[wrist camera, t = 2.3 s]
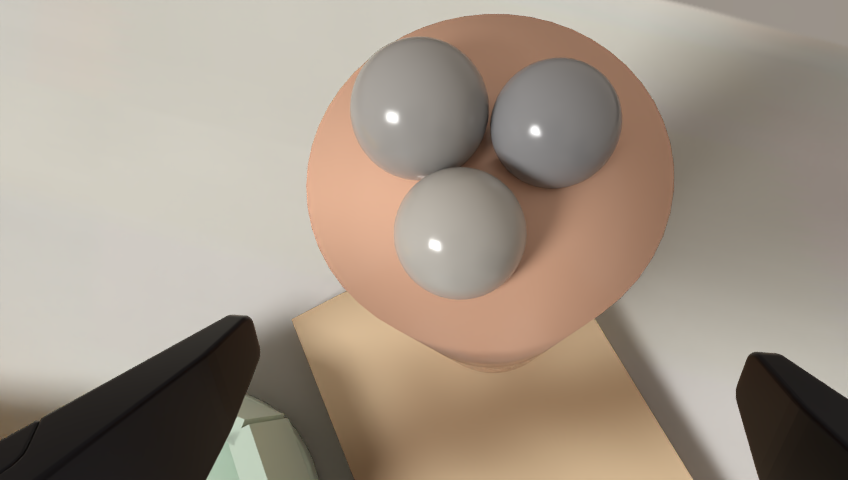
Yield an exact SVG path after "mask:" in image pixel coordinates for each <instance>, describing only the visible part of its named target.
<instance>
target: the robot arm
mask: <svg viewBox="0 0 848 480" xmlns="http://www.w3.org/2000/svg"><path fill="white" fill-rule="evenodd" d="M259 357H260V346H259V342H258V339H257V335H256V331H255V327H254V324H253V321H252V319H251V318H250V317H248V316H243V315H228V316H226V317H224V318H222V319H221V320H219V321H217V322H215V323H213V324H212V325H210V326H208V327H206V328H204V329H202V330H201V331H199V332H197V333H195V334H193V335H192V336H190V337H188V338H186V339H184V340H182V341H181V342H179V343H177V344H175V345H173V346H172V347H170V348H168V349H166V350H164V351H162V352H161V353H159V354H157V355H155V356H153V357H152V358H150V359H148V360H146V361H144V362H143V363H141V364H139V365H137V366H135V367H133V368H132V369H130V370H128V371H126V372H124V373H123V374H121V375H119V376H117V377H115V378H113V379H112V380H110V381H108V382H106V383H104V384H103V385H101V386H99V387H97V388H95V389H93V390H92V391H90V392H88V393H86V394H84V395H83V396H81V397H79V398H77V399H75V400H73V401H72V402H70V403H68V404H66V405H64V406H63V407H61V408H59V409H57V410H55V411H54V412H52V413H50V414H48V415H46V416H44V417H43V418H42V419H41V420H40V421H35V422H33V423H32V424H30V425H28V426H26V427H24V428H23V429H21V430H19V431H17V432H15V433H14V434H12V435H10V436H8V437H6V438H4V439H2V440H0V480H206V479H207V477H208V475H209V473H210V471H211V470H212V468H213V466H214V464H215V462H216V460H217V458H218V456H219V454H220V452H221V450H222V448H223V446H224V444H225V442H226V440H227V438H228V436H229V434H230V432H231V430H232V427H233V425H234V423H235V420H236V418H237V415H238V413H239V410H240V408H241V405H242V402H243V400H244V397H245V395H246V392H247V389H248V387H249V384H250V382H251V379H252V376H253V374H254V371H255V369H256V366H257V363H258V361H259ZM736 400H737V404H738V408H739V411H740V415H741V418H742V422H743V425H744V429H745V432H746V436H747V439H748V443H749V446H750V450H751V453H752V457H753V460H754V464H755V467H756V471H757V474H758V477H759V480H848V399H847V398H845V397H844V396H842V395H841V394H839V393H838V392H836V391H835V390H833V389H832V388H830V387H829V386H827V385H826V384H824V383H823V382H821V381H820V380H818V379H817V378H815V377H814V376H812V375H811V374H809V373H808V372H806V371H805V370H803V369H802V368H800V367H799V366H797V365H796V364H794V363H793V362H791V361H790V360H788V359H787V358H785V357H784V356H782V355H780V354H777V353H765V352H753V353H751V354H750V355H749V356H748V358H747V360H746V362H745V365H744V368H743V370H742V373H741V376H740V379H739V381H738V384H737V387H736Z"/></svg>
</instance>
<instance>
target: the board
mask: <svg viewBox="0 0 848 480" xmlns="http://www.w3.org/2000/svg"><path fill="white" fill-rule="evenodd" d="M291 320H292V322H293V325H294V327H295V330H296V332H297V335H298V337H299V340H300V343H301V345H302V348H303V350H304V353H305V355H306V358H307V360H308V363H309V366H310V368H311V371H312V373H313V376H314V378H315V381H316V383H317V386H318V388H319V391H320V394H321V396H322V399H323V401H324V404H325V406H326V409H327V411H328V414H329V417H330V419H331V422H332V424H333V427H334V429H335V432H336V434H337V437H338V440H339V442H340V445H341V447H342V450H343V452H344V455H345V457H346V460H347V463H348V465H349V468H350V470H351V473H352V475H353V478H354V480H693V479H692V477H691V476H690V474H689V472H688V471H687V469H686V467H685V466H684V464H683V462H682V461H681V459H680V458H679V456H678V454H677V453H676V451H675V449H674V448H673V446H672V444H671V443H670V441H669V439H668V438H667V436H666V435H665V433H664V431H663V430H662V428H661V426H660V425H659V423H658V421H657V420H656V418H655V417H654V415H653V413H652V412H651V410H650V408H649V407H648V405H647V403H646V402H645V400H644V398H643V397H642V395H641V394H640V392H639V390H638V389H637V387H636V385H635V384H634V382H633V380H632V379H631V377H630V376H629V374H628V372H627V371H626V369H625V367H624V366H623V364H622V362H621V361H620V359H619V357H618V356H617V354H616V353H615V351H614V349H613V348H612V346H611V344H610V343H609V341H608V339H607V338H606V336H605V335H604V333H603V331H602V330H601V328H600V326H599V325H598V323H597V321H596V320H595V318H594V319H593V320H591V321H590V322H588V323H587V324H586V325H584V326H583V327H581V328H580V329H578V330H577V331H575V332H574V333H572V334H571V335H569V336H568V337H566V338H565V339H563V340H562V341H560V342H559V343H557V344H556V345H554V346H553V347H551V348H550V349H548V350H547V351H546V352H544V353H543V354H541V355H540V356H538V357H537V358H535V359H534V360H532V361H531V362H529V363H527V364H526V365H524V366H522V367H520V368H517V369H515V370H511V371H508V372H501V373H485V372H479V371H475V370H471V369H469V368H466V367H464V366H462V365H460V364H458V363H457V362H455V361H453V360H451V359H449V358H447V357H446V356H444V355H442V354H440V353H438V352H437V351H435V350H433V349H431V348H429V347H427V346H426V345H424V344H422V343H420V342H418V341H417V340H415V339H413V338H411V337H409V336H407V335H406V334H404V333H402V332H400V331H398V330H397V329H395V328H393V327H392V326H390V325H388V324H387V323H385V322H383V321H381V320H380V319H378V318H377V317H375V316H374V315H373V314H372V313H370V312H369V311H368V310H367V309H365V308H364V307H363V306H361V305H360V304H359V303H358V302H357V301H356V300H355V299H354V298H353V297H352V296H351V295H350V294H349V293H348V292H347V291H346V292H344V293H342V294H340V295H338V296H336V297H334V298H332V299H330V300H328V301H326V302H324V303H322V304H320V305H319V306H317V307H315V308H313V309H311V310H309V311H307V312H305V313H303V314H301V315H299V316H297V317H295V318H293V319H291Z"/></svg>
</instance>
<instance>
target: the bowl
mask: <svg viewBox="0 0 848 480" xmlns="http://www.w3.org/2000/svg"><path fill="white" fill-rule="evenodd" d="M206 480H319V479H318V475H317V472H316V469H315V465H314V462H313V460H312V458H311V455H310V453H309V451H308V448H307V446H306V445H305V443H304V441H303V440H302V438H301V436H300V435H299V433H298V432H297V431H296V430H295V428H294V427H293V426H292V425H291V423H290V421H289V419H288V418H285V417H284V414H283V413H281V412H278V411H277V410H275V409H274V408H273V407H271V406H270V405H268V404H267V403H265V402H263V401H261V400H259V399H257V398H255V397H252V396H249V395H245V397H244V400H243V402H242V405H241V408H240V410H239V413H238V415H237V418H236V420H235V423H234V425H233V427H232V430H231V432H230V434H229V436H228V438H227V440H226V442H225V444H224V446H223V448H222V450H221V452H220V454H219V456H218V458H217V460H216V462H215V464H214V466H213V468H212V470H211V471H210V473H209V475H208V477H207V479H206Z"/></svg>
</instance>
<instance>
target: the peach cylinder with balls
mask: <svg viewBox="0 0 848 480" xmlns="http://www.w3.org/2000/svg"><path fill="white" fill-rule="evenodd" d="M306 188H307V205H308V211H309V216H310V221H311V226H312V230H313V232H314V235H315V238H316V241H317V244H318V247H319V249H320V251H321V253H322V255H323V257H324V259H325V261H326V262H327V264H328V266H329V268H330V270H331V271H332V272H333V274H334V275H335V277H336V278H337V279H338V281H339V282H340V284H341V285H342V286H343V287H344V288H345V289H346V291H347V292H348V293H349V294H350V295H351V296H352V297H353V298H354V299H355V300H356V301H357V302H358V303H359V304H360V305H361V306H363V307H364V308H365V309H367V310H368V311H369V312H370V313H372V314H373V315H374V316H375V317H377V318H378V319H380V320H381V321H383V322H385V323H387V324H388V325H390V326H392V327H393V328H395V329H397V330H398V331H400V332H402V333H404V334H406V335H407V336H409V337H411V338H413V339H415V340H417V341H418V342H420V343H422V344H424V345H426V346H427V347H429V348H431V349H433V350H435V351H437V352H438V353H440V354H442V355H444V356H446V357H447V358H449V359H451V360H453V361H455V362H457V363H458V364H460V365H462V366H464V367H466V368H469V369H471V370H475V371H479V372H485V373H501V372H508V371H511V370H515V369H517V368H520V367H522V366H524V365H526V364H527V363H529V362H531V361H532V360H534V359H535V358H537V357H538V356H540V355H541V354H543V353H544V352H546V351H547V350H548V349H550V348H551V347H553V346H554V345H556V344H557V343H559V342H560V341H562V340H563V339H565V338H566V337H568V336H569V335H571V334H572V333H574V332H575V331H577V330H578V329H580V328H581V327H583V326H584V325H586V324H587V323H588V322H590V321H591V320H593V319H594V318H596V317H597V316H599V315H600V314H602V313H603V312H604V311H605V310H606V309H608V308H609V307H610V306H611V305H613V304H614V303H615V302H616V301H617V300H619V299H620V298H621V297H622V296H623V295H624V294H625V293H626V291H627V290H628V289H629V288H630V287H631V286H632V285H633V284H634V283H635V282H636V281H637V280H638V278H639V277H640V275H641V274H642V272H643V271H644V269H645V268H646V267H647V265H648V264H649V262H650V261H651V259H652V258H653V256H654V254H655V251H656V249H657V247H658V245H659V243H660V241H661V239H662V237H663V235H664V231H665V228H666V225H667V222H668V218H669V215H670V211H671V205H672V198H673V192H674V164H673V157H672V151H671V144H670V140H669V137H668V134H667V131H666V128H665V124H664V121H663V119H662V117H661V115H660V113H659V111H658V109H657V107H656V105H655V102H654V101H653V99H652V98H651V96H650V95H649V93H648V92H647V90H646V89H645V87H644V86H643V84H642V83H641V81H640V80H639V79H638V78H637V77H636V76H635V75H634V74H633V72H632V71H631V70H630V69H629V68H628V67H627V66H626V65H625V64H624V63H623V62H622V61H620V60H619V59H618V58H617V57H616V56H615V55H614V54H612V53H611V52H610V51H609V50H607V49H606V48H604V47H603V46H601V45H600V44H598V43H596V42H595V41H593V40H592V39H590V38H588V37H586V36H584V35H582V34H580V33H578V32H576V31H574V30H572V29H569V28H567V27H564V26H561V25H558V24H555V23H553V22H549V21H545V20H541V19H536V18H532V17H526V16H518V15H509V14H483V15H473V16H464V17H459V18H454V19H450V20H445V21H441V22H438V23H435V24H432V25H429V26H426V27H423V28H421V29H418V30H416V31H414V32H412V33H409V34H407V35H405V36H403V37H401V38H400V39H398V40H396V41H394V42H392V43H390V44H388V45H386V46H384V47H382V48H381V49H380V50H378V51H377V52H376V53H374V54H373V55H372V56H371V57H370V58H369V59H368V60H367V61H366V62H365V63H364V64H363V65H362V66H361V67H360V68H359V69H358V70H357V71H355V72H354V73H353V74H352V76H351V77H350V78H349V79H348V80H347V82H346V83H345V84H344V85H343V86H342V87H341V89H340V90H339V91H338V93H337V94H336V96H335V97H334V99H333V100H332V102H331V103H330V105H329V106H328V108H327V110H326V112H325V114H324V116H323V118H322V120H321V122H320V124H319V127H318V130H317V133H316V135H315V138H314V141H313V144H312V148H311V153H310V158H309V162H308V171H307V184H306Z"/></svg>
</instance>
